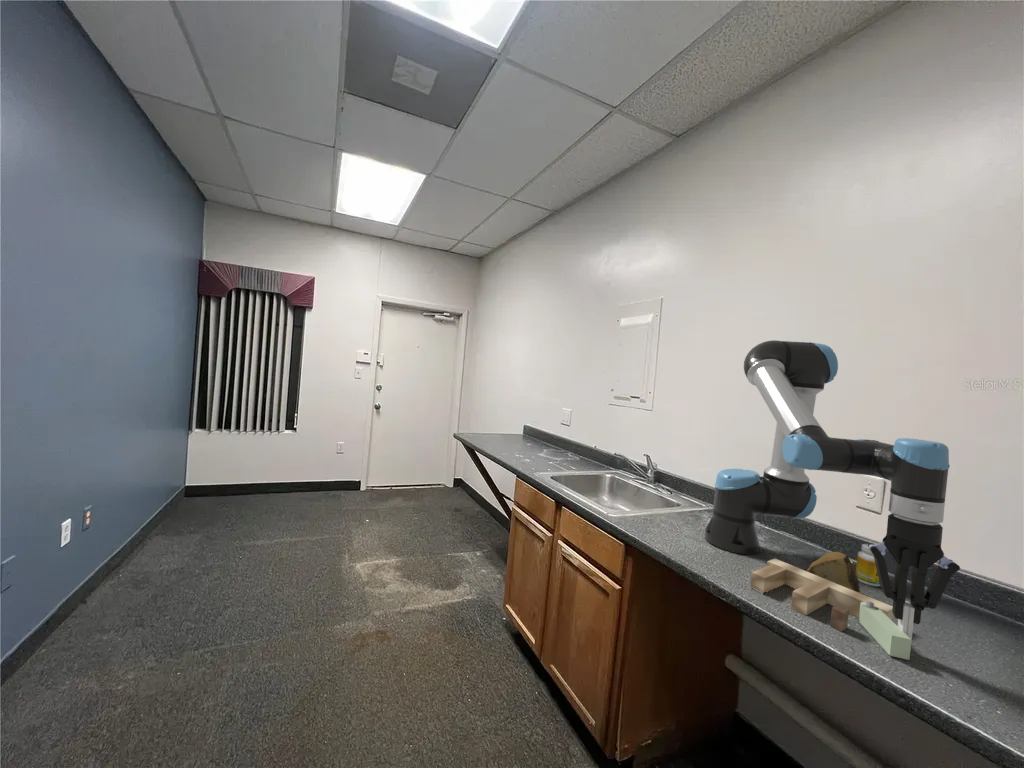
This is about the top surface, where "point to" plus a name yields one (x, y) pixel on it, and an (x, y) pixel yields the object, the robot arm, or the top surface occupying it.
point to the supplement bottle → (867, 567)
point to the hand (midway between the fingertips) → (904, 636)
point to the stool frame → (814, 592)
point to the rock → (836, 570)
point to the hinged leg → (884, 631)
